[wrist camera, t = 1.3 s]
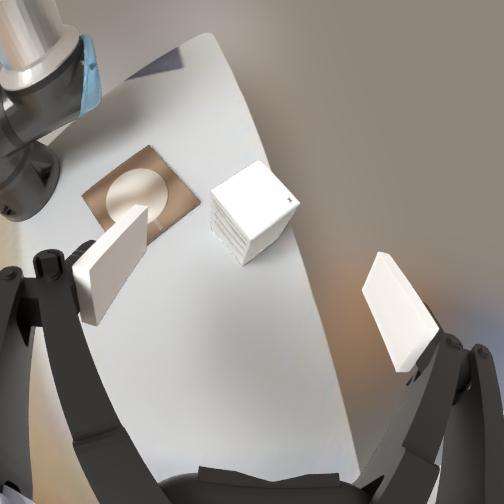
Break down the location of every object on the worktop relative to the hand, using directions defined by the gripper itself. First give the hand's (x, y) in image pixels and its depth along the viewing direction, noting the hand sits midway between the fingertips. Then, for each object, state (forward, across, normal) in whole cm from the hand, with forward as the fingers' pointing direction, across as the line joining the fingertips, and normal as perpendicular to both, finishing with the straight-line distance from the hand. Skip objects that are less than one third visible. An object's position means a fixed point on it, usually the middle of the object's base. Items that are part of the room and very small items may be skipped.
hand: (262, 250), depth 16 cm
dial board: (+27, -18, -9) cm, 34 cm away
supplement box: (+26, 0, -11) cm, 28 cm away
